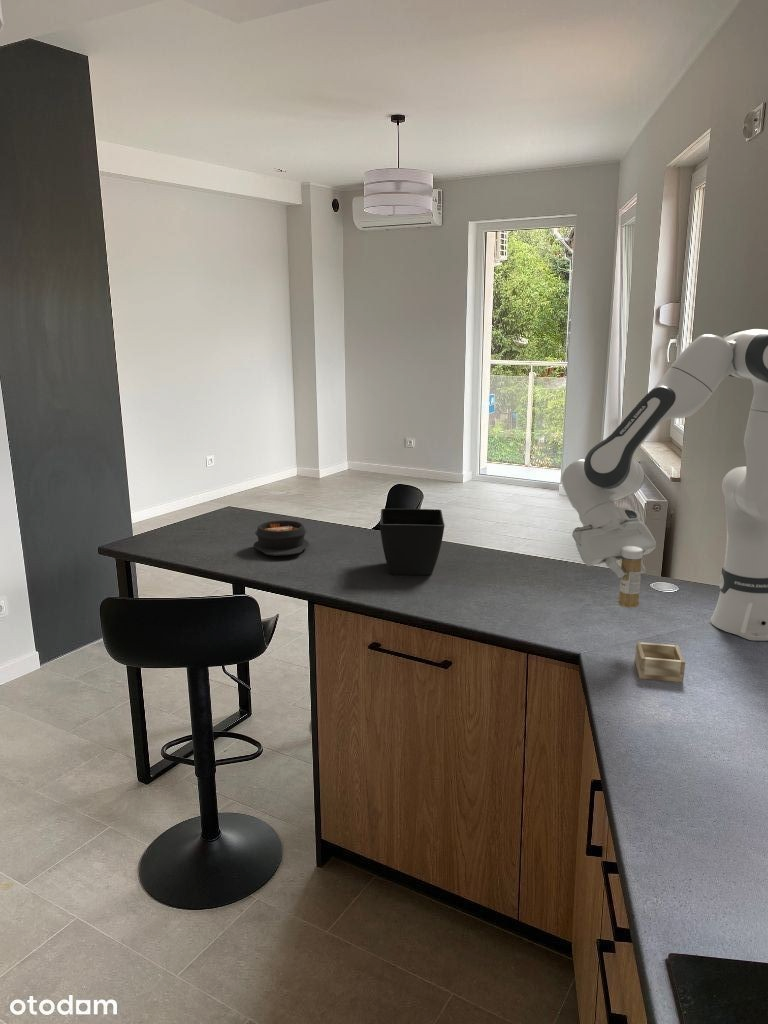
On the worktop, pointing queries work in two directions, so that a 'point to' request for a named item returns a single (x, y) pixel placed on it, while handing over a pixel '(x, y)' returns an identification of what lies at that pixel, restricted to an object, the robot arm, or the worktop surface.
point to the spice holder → (659, 662)
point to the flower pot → (411, 539)
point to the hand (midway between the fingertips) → (632, 574)
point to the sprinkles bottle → (630, 576)
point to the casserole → (281, 538)
